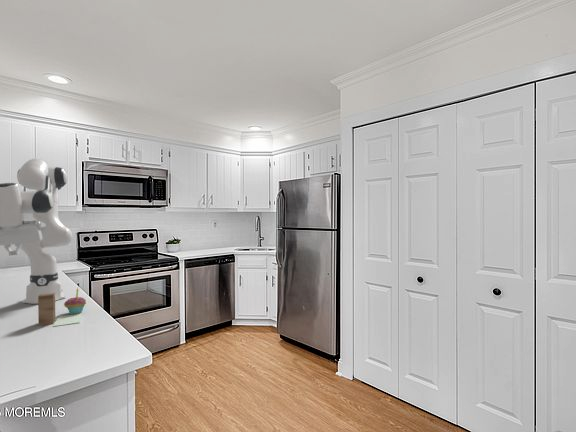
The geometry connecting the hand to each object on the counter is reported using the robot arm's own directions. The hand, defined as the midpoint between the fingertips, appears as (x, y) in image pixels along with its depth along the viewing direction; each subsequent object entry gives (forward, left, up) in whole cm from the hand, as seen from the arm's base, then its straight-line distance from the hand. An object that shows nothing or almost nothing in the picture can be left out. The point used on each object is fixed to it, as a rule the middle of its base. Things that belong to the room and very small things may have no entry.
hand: (14, 255), depth 137 cm
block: (+6, +12, -29) cm, 31 cm away
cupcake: (-5, +21, -29) cm, 36 cm away
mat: (+6, +19, -29) cm, 35 cm away
